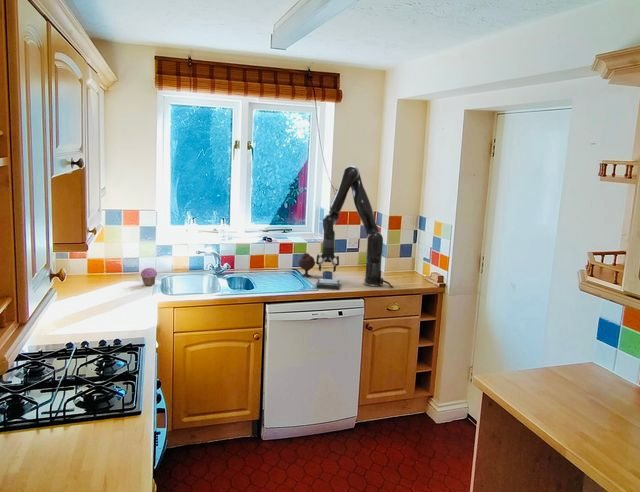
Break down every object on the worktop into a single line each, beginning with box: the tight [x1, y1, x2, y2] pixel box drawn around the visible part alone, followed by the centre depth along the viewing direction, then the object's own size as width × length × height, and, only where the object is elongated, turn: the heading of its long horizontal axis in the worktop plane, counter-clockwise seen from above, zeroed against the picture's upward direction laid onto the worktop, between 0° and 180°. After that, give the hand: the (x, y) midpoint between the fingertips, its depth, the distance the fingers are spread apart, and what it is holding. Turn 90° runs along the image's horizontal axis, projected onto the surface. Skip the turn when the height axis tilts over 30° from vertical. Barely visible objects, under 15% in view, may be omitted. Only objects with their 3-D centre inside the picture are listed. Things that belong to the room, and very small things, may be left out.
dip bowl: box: [321, 270, 334, 279], centre depth 293 cm, size 6×6×5 cm
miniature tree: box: [297, 252, 316, 278], centre depth 302 cm, size 11×11×15 cm
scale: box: [316, 278, 340, 290], centre depth 280 cm, size 13×13×3 cm
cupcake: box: [140, 267, 158, 287], centre depth 269 cm, size 9×9×10 cm
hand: (327, 271), depth 292 cm, fingers open, 8 cm apart
